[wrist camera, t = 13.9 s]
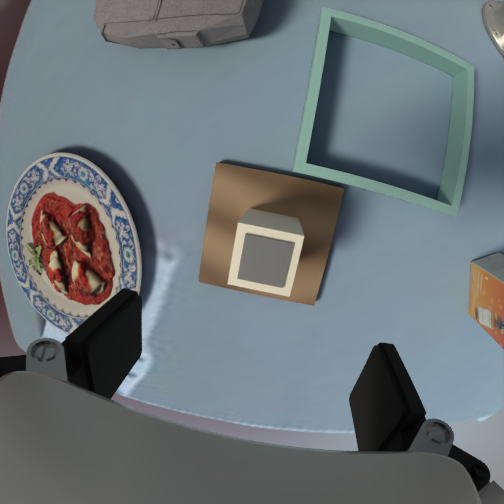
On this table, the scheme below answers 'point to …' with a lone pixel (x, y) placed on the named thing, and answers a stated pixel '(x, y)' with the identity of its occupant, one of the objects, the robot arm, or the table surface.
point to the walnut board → (275, 201)
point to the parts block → (266, 252)
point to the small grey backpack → (176, 22)
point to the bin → (417, 50)
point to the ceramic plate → (71, 239)
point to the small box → (488, 295)
